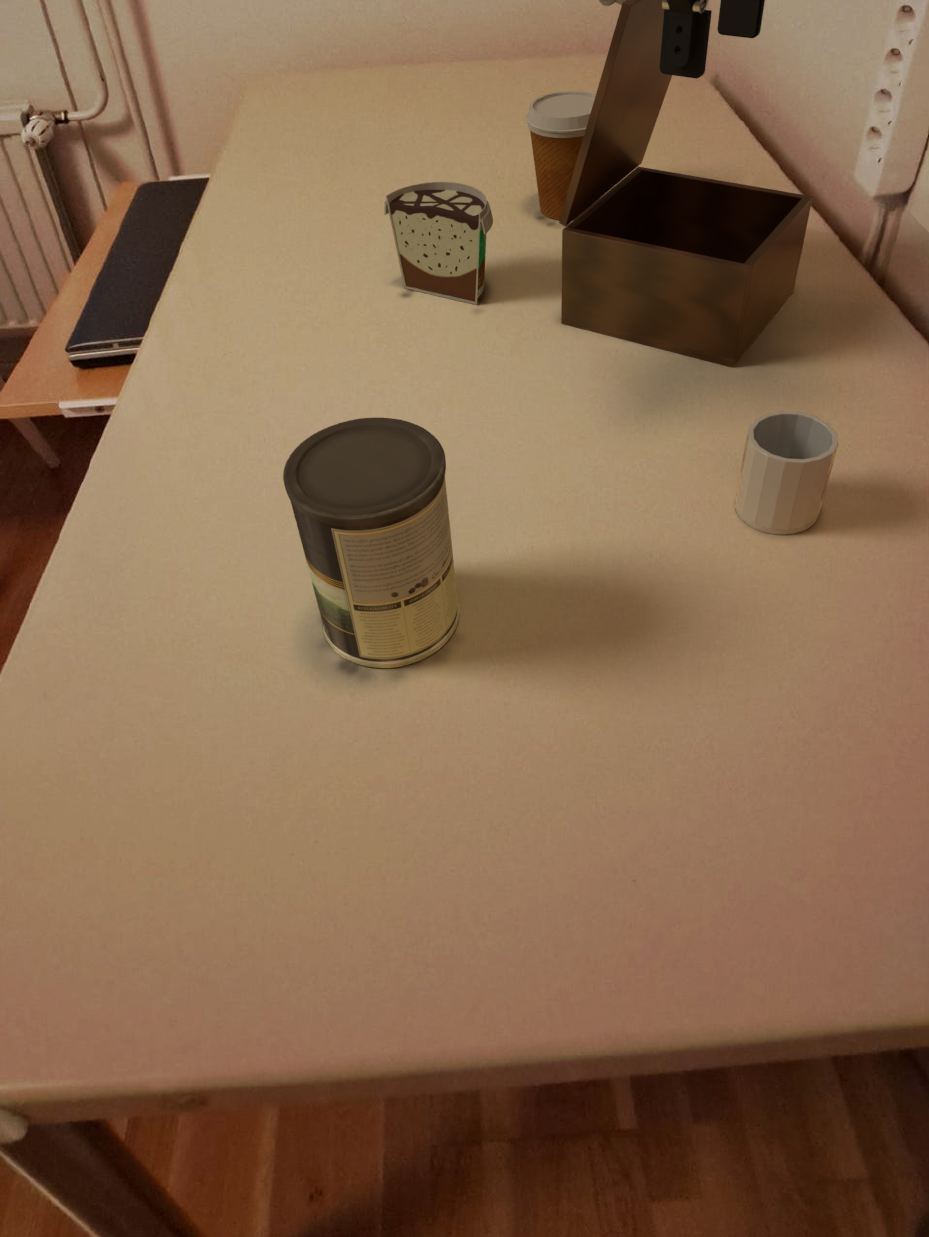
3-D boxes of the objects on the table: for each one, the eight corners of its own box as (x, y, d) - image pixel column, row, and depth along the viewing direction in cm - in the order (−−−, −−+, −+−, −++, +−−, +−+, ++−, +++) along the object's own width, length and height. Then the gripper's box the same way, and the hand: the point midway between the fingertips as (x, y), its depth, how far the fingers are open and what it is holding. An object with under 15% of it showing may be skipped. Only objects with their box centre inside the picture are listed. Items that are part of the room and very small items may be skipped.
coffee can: (297, 650, 68) (252, 498, 57) (359, 557, 74) (328, 405, 64) (428, 685, 65) (405, 531, 54) (481, 585, 71) (469, 430, 61)
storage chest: (794, 290, 98) (813, 195, 91) (733, 367, 89) (749, 269, 82) (632, 255, 106) (638, 166, 99) (561, 323, 97) (561, 229, 90)
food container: (516, 282, 103) (514, 189, 96) (489, 307, 100) (484, 213, 93) (422, 261, 108) (413, 172, 101) (393, 285, 105) (381, 194, 97)
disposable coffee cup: (517, 223, 114) (515, 116, 105) (539, 190, 120) (538, 87, 111) (594, 229, 111) (598, 121, 102) (612, 196, 117) (617, 91, 108)
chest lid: (714, -46, 83) (662, -71, 84) (631, 5, 73) (573, -23, 74) (641, 163, 98) (598, 140, 99) (565, 226, 89) (518, 201, 90)
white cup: (829, 497, 75) (849, 424, 70) (802, 544, 72) (821, 471, 67) (752, 474, 78) (766, 402, 73) (722, 518, 74) (735, 446, 69)
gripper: (750, -252, 50) (708, 99, 62) (859, -284, 59) (804, 27, 71) (623, -249, 53) (608, 84, 65) (746, -280, 62) (712, 17, 75)
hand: (710, 54), depth 68 cm, fingers open, 9 cm apart
